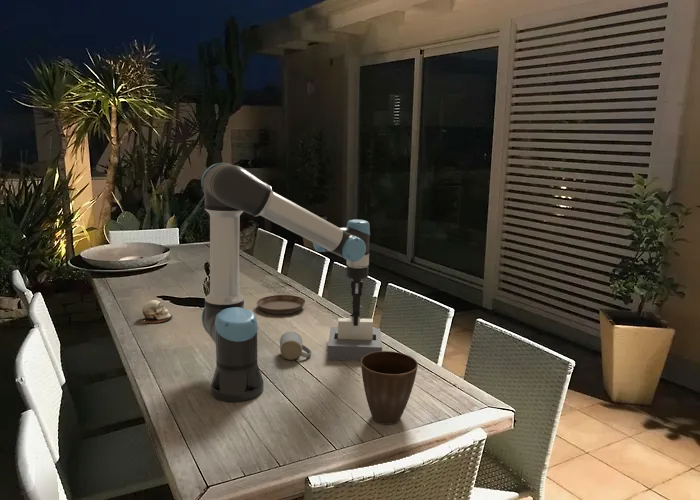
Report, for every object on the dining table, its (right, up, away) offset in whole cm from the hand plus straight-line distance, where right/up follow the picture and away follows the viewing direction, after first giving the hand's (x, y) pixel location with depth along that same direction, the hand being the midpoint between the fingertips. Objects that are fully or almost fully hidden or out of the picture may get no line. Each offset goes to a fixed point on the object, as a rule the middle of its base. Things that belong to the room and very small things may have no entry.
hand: (355, 329), depth 191 cm
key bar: (0, -6, +1) cm, 6 cm away
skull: (-79, 0, +28) cm, 84 cm away
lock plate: (0, -7, +2) cm, 7 cm away
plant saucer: (-31, +2, +45) cm, 55 cm away
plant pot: (+8, -17, -43) cm, 47 cm away
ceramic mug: (-21, -8, -5) cm, 23 cm away
